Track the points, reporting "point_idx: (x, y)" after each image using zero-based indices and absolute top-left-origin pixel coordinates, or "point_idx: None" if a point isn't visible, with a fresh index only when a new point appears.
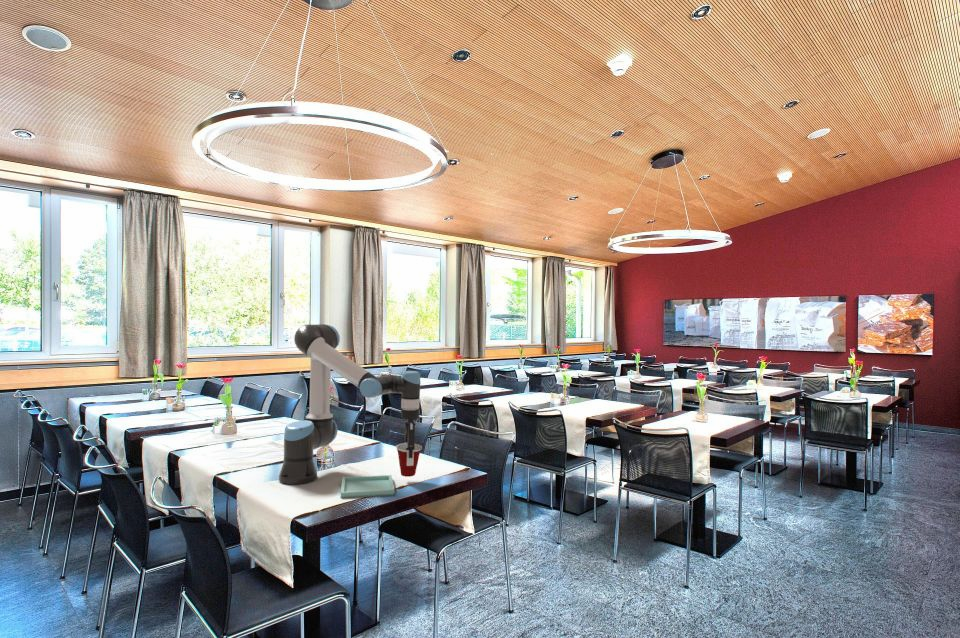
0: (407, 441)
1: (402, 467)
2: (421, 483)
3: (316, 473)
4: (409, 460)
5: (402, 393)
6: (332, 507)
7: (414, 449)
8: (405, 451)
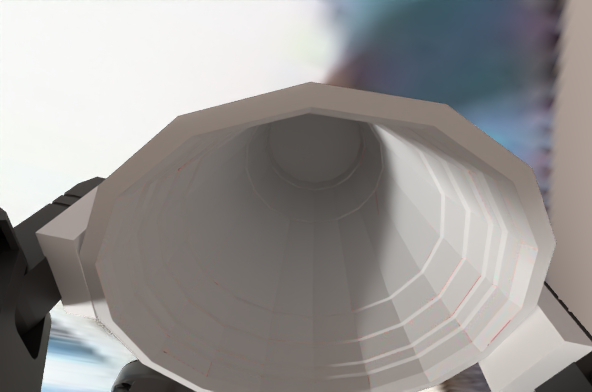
0: (37, 300)
1: (345, 223)
2: (380, 47)
3: (170, 382)
4: None
5: None
6: (450, 385)
7: (204, 153)
8: (452, 364)
